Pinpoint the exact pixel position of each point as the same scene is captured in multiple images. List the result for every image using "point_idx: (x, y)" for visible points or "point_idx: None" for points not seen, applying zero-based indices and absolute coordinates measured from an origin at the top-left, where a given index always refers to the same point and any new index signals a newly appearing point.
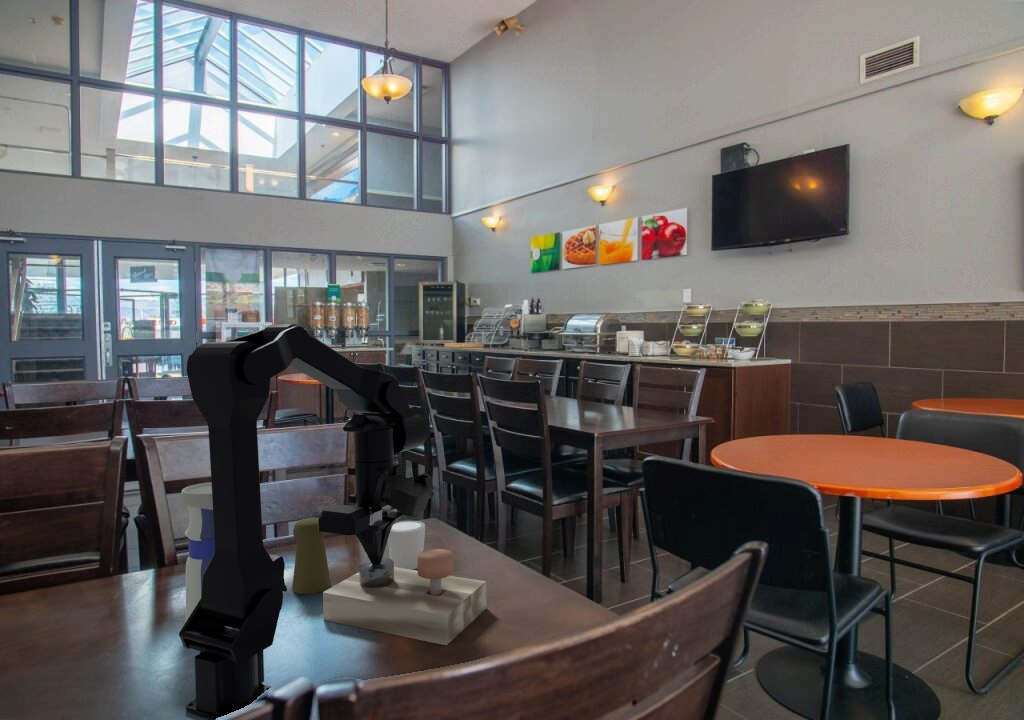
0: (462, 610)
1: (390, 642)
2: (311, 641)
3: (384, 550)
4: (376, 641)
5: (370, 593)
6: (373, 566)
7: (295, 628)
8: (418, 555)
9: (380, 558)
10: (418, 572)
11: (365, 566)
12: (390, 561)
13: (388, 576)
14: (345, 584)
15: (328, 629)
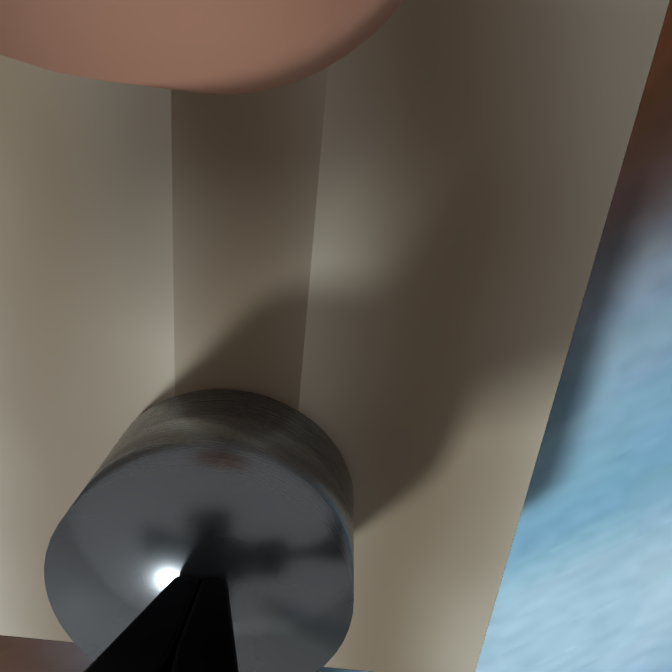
0: None
1: (632, 133)
2: (650, 504)
3: (98, 661)
4: (626, 219)
5: (430, 443)
6: (267, 594)
7: (540, 612)
8: (268, 26)
9: (183, 612)
10: (391, 10)
11: (291, 645)
12: (102, 520)
13: (253, 428)
14: None
15: (528, 497)
